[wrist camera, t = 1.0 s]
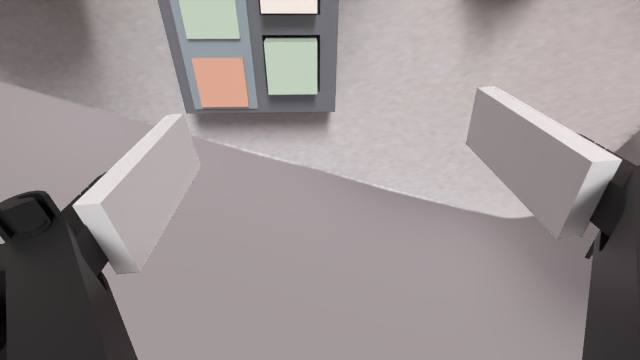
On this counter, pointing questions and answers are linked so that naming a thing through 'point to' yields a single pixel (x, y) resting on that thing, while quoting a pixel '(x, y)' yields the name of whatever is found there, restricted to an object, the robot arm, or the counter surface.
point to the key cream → (288, 6)
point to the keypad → (244, 54)
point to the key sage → (291, 65)
